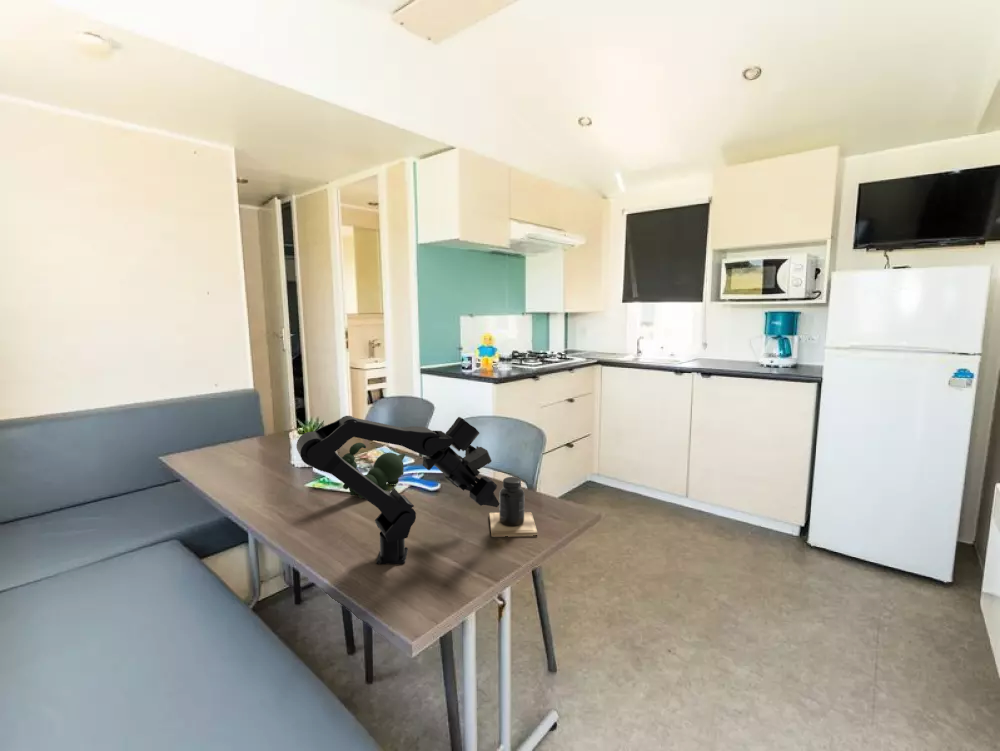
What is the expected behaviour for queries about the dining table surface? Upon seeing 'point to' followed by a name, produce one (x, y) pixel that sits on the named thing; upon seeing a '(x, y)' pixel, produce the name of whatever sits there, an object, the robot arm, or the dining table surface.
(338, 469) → the robot arm
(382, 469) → the toy figurine
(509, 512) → the supplement bottle
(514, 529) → the coaster
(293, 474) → the dining table surface
